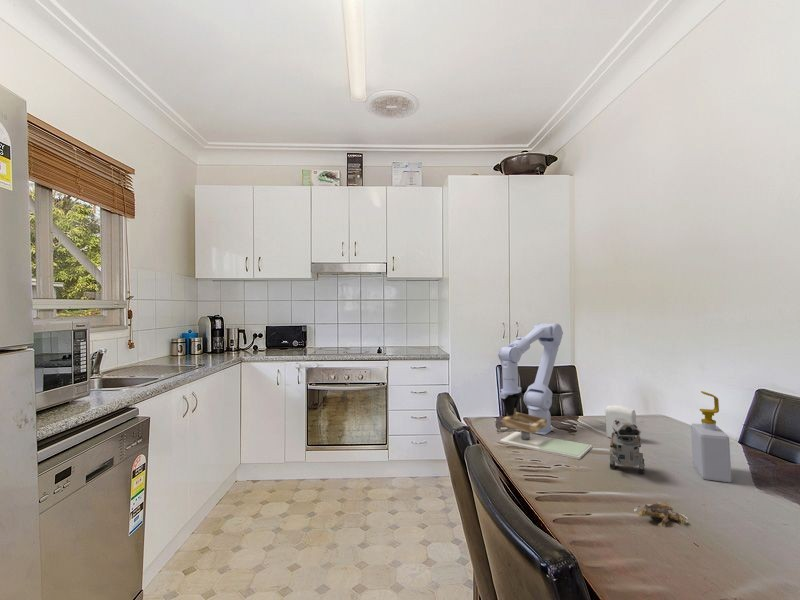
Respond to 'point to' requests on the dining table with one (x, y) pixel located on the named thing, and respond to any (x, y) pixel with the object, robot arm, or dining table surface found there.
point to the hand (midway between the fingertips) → (511, 414)
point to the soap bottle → (711, 447)
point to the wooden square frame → (513, 423)
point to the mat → (564, 446)
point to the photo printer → (618, 416)
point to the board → (536, 444)
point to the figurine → (626, 445)
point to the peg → (525, 435)
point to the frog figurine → (661, 513)
